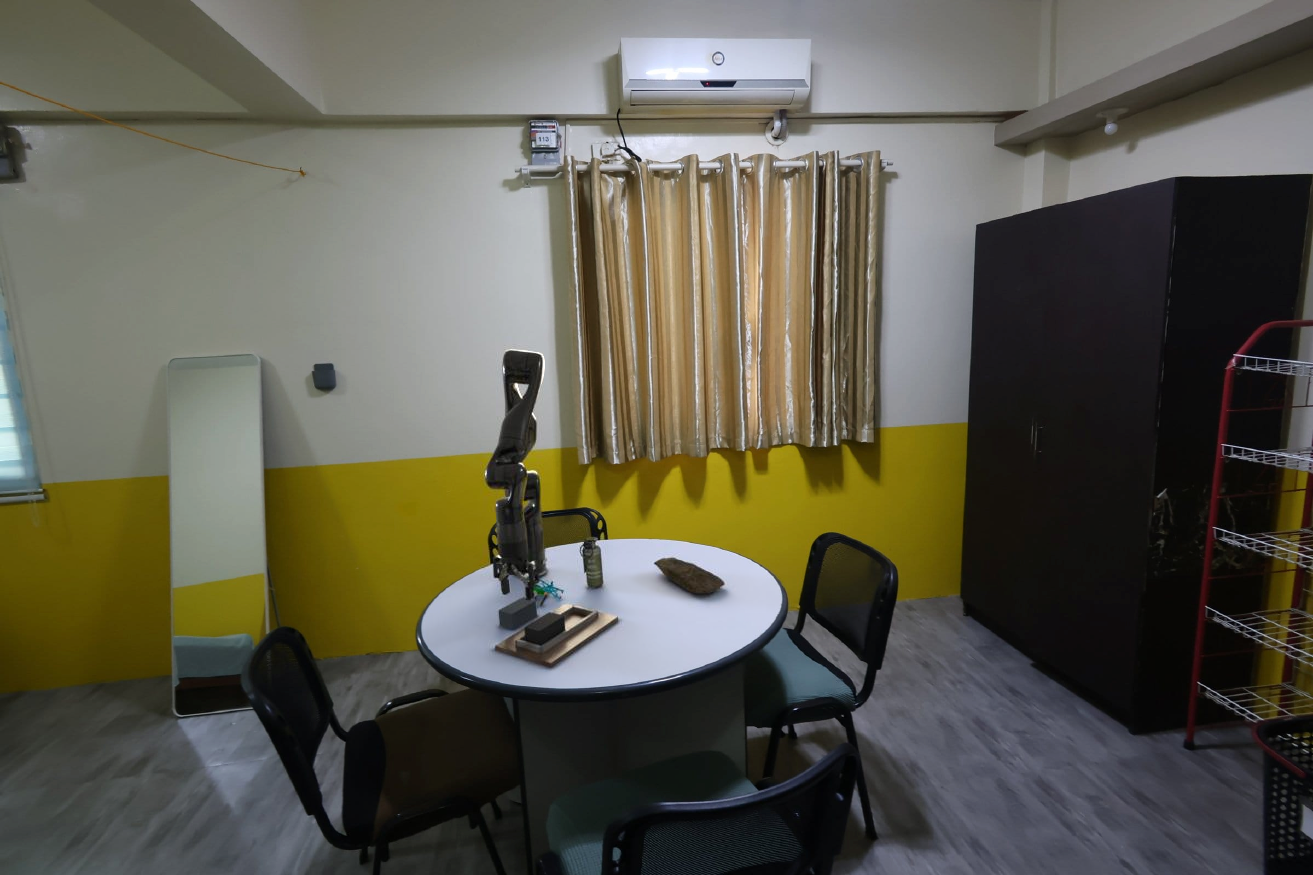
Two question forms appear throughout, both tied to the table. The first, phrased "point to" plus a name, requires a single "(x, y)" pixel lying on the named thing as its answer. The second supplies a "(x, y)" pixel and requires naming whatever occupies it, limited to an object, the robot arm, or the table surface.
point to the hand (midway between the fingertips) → (517, 596)
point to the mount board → (560, 636)
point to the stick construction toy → (546, 591)
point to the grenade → (592, 562)
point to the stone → (689, 575)
